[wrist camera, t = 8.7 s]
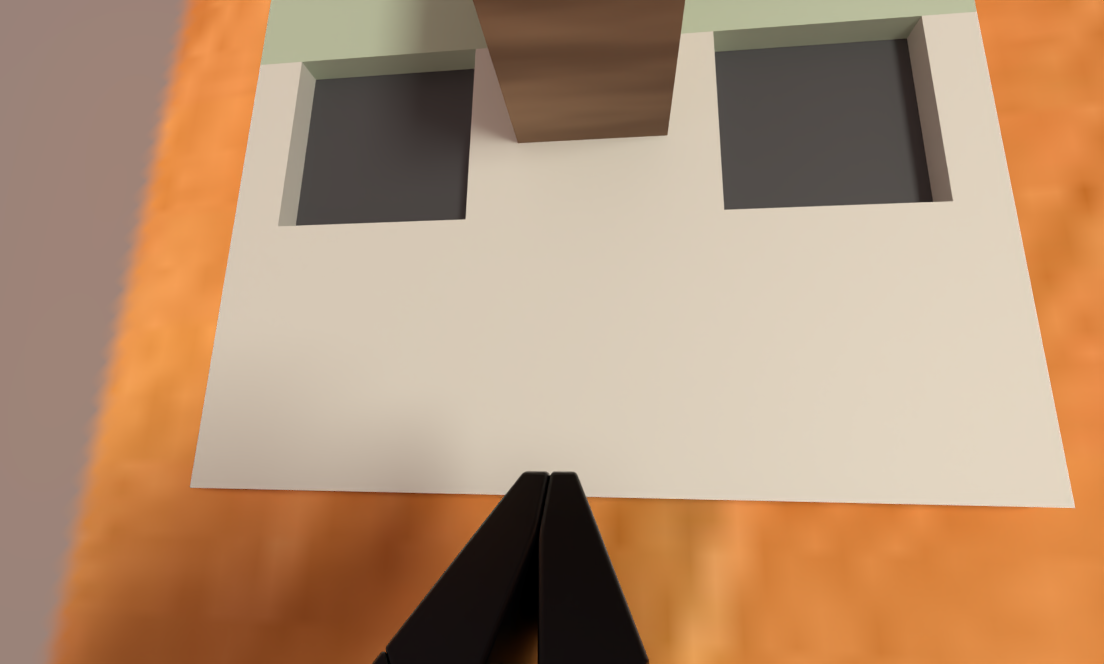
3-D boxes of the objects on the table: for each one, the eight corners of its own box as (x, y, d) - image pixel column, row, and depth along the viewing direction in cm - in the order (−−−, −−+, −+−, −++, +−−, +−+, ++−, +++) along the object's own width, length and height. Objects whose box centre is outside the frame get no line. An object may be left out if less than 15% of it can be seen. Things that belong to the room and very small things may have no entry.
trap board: (1040, 505, 19) (1075, 508, 18) (217, 486, 23) (189, 487, 21) (913, -185, 27) (930, -223, 25) (311, -117, 30) (295, -146, 29)
